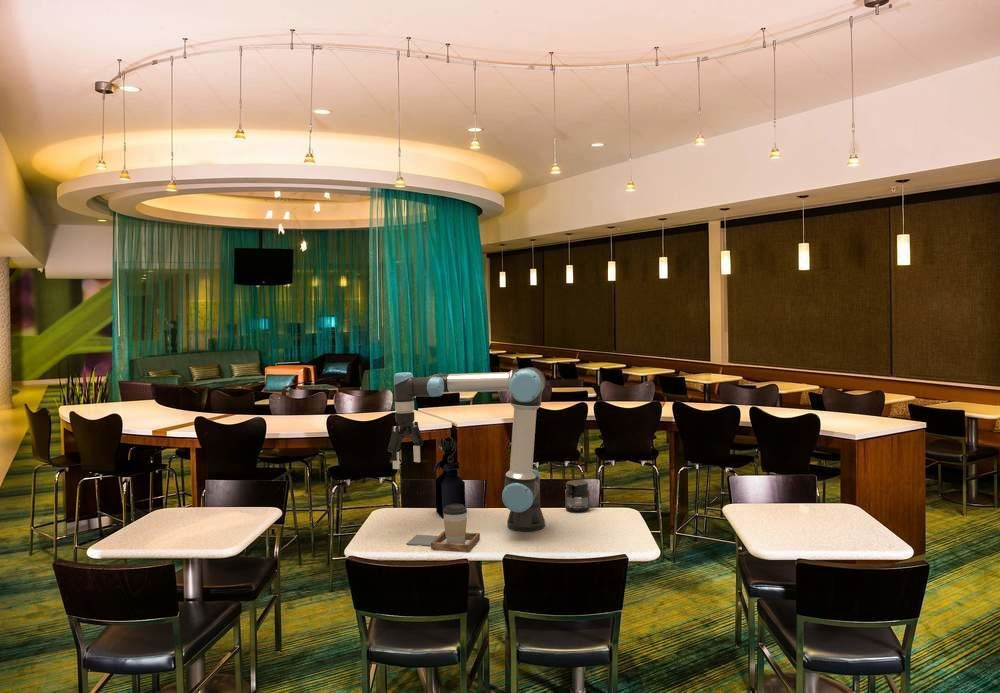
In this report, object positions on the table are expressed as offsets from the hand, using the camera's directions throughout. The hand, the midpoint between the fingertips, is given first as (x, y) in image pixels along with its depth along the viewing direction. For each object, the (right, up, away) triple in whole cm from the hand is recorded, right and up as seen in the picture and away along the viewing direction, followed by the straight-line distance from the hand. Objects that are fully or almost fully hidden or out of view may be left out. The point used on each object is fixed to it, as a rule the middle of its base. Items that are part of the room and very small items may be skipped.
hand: (406, 465), depth 286 cm
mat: (+8, -27, -10) cm, 30 cm away
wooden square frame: (+20, -27, -15) cm, 37 cm away
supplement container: (+70, -24, +27) cm, 79 cm away
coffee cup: (+20, -27, -15) cm, 37 cm away
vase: (+15, -25, +26) cm, 39 cm away
